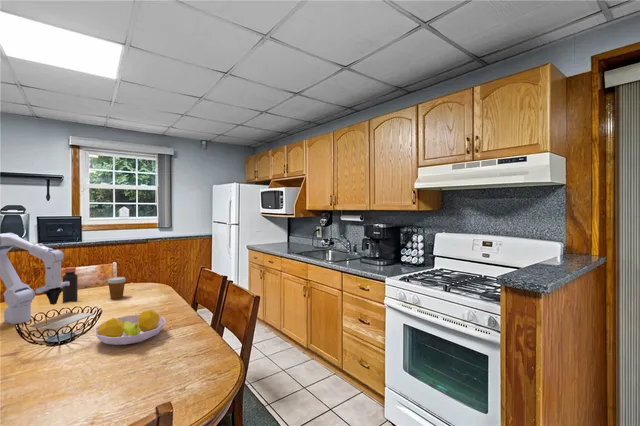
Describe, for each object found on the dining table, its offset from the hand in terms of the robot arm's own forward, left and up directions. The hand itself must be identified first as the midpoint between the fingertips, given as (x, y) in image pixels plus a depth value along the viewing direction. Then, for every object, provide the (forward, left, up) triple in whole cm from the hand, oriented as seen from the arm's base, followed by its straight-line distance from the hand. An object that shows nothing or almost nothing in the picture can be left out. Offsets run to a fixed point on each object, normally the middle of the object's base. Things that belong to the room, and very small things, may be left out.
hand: (53, 304), depth 150 cm
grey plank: (+7, +2, -9) cm, 11 cm away
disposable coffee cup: (-4, +42, -10) cm, 43 cm away
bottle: (-23, +29, -10) cm, 38 cm away
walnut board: (-1, +2, -9) cm, 10 cm away
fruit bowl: (+48, -7, -10) cm, 49 cm away
